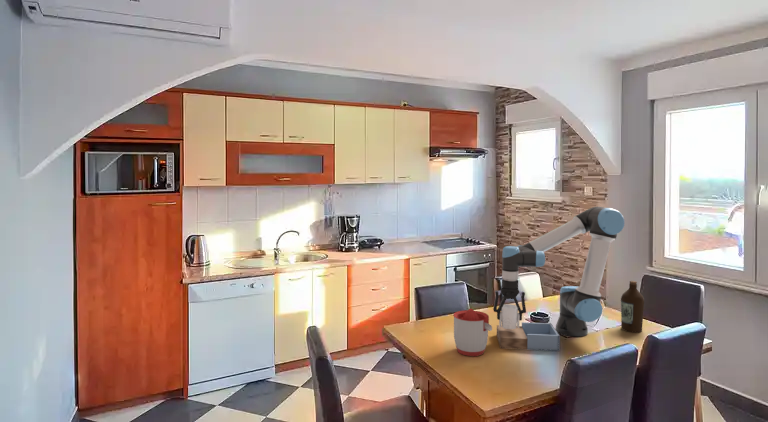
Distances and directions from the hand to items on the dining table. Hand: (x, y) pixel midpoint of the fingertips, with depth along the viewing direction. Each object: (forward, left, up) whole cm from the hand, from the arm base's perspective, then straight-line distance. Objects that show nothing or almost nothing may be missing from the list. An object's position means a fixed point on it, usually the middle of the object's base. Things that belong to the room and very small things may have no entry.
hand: (509, 326), depth 225 cm
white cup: (0, 0, 0) cm, 0 cm away
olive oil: (-64, -26, -8) cm, 70 cm away
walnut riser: (-1, 0, -8) cm, 8 cm away
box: (-14, 0, -8) cm, 16 cm away
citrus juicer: (+18, +15, -8) cm, 25 cm away
